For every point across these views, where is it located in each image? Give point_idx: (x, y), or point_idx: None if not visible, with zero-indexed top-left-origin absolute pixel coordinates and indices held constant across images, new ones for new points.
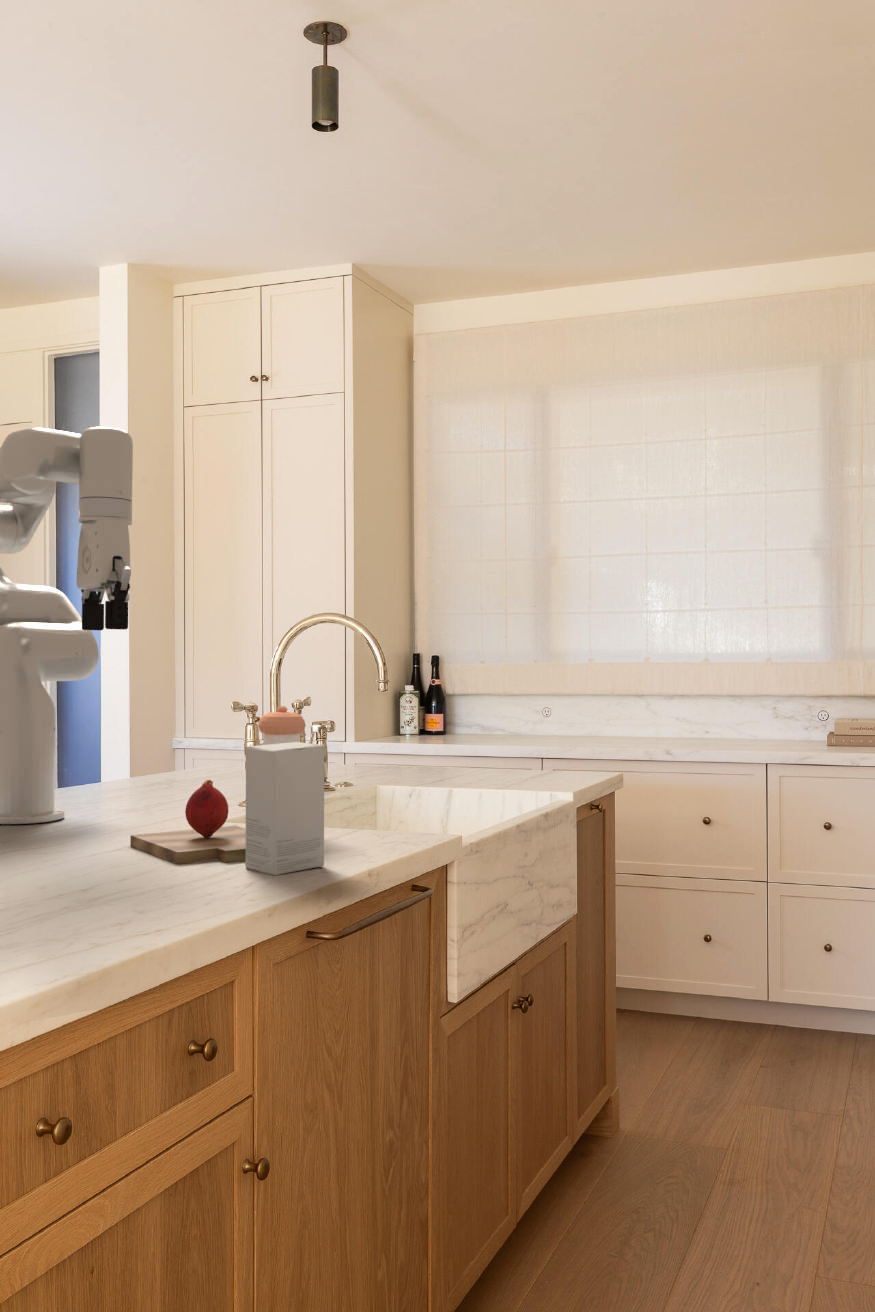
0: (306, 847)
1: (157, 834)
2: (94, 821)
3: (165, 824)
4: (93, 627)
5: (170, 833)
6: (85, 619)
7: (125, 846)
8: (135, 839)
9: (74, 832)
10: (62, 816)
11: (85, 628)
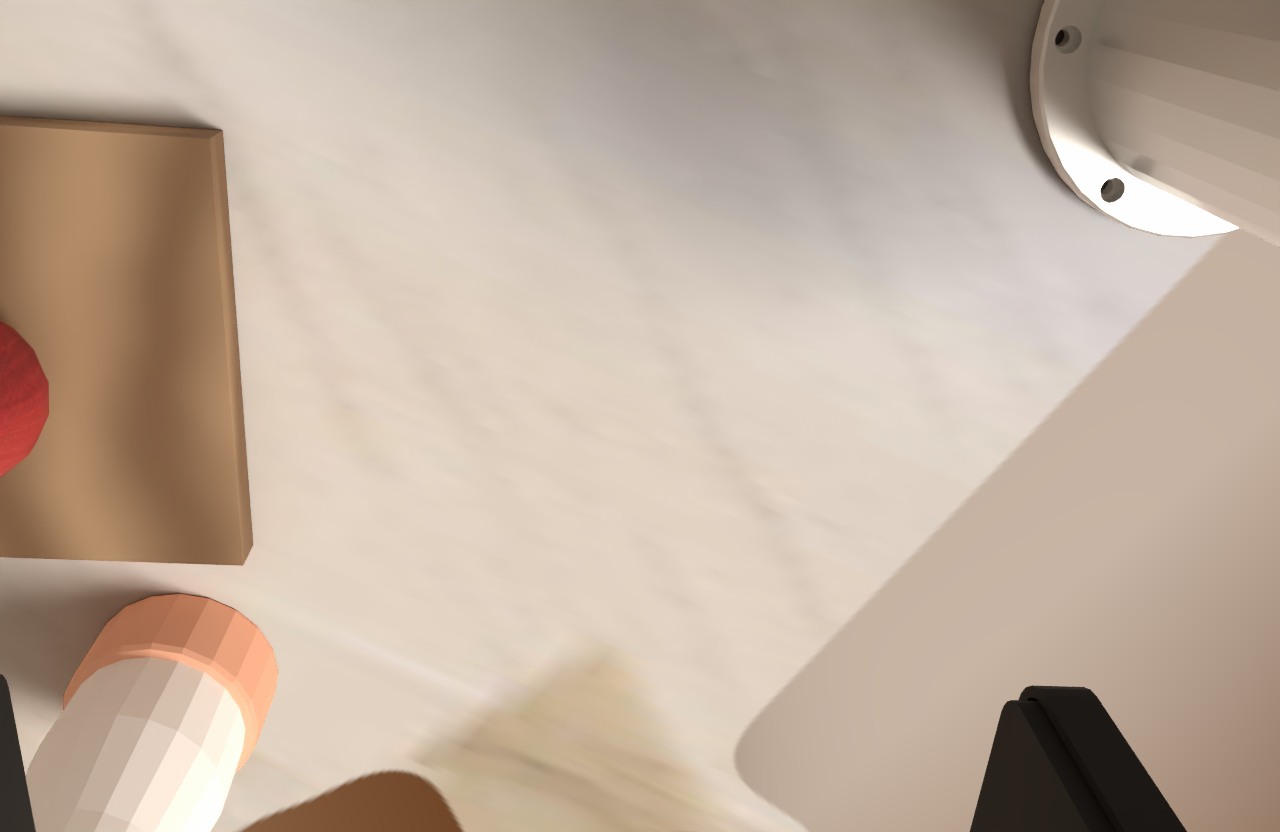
0: None
1: (174, 238)
2: (935, 283)
3: (670, 469)
4: (983, 822)
5: (172, 290)
6: (1066, 816)
7: (233, 113)
8: (153, 132)
9: (709, 91)
10: (1075, 193)
11: (1006, 709)
